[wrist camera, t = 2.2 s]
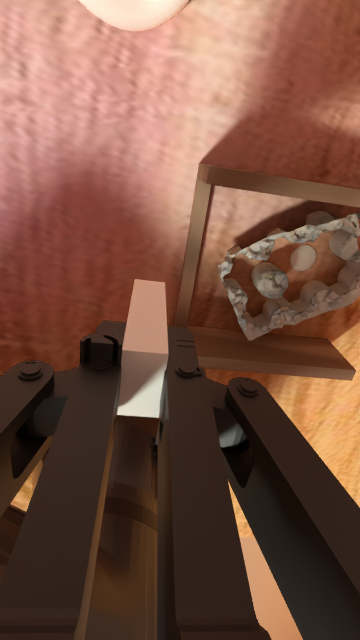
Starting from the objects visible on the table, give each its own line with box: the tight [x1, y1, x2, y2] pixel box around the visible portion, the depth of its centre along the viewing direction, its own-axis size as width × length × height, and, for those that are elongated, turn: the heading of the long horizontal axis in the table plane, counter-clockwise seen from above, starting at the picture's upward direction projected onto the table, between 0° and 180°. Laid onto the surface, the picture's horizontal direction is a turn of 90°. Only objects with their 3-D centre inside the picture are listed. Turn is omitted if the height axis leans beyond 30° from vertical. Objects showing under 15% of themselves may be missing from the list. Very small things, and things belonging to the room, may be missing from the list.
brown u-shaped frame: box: [174, 163, 360, 381], centre depth 26 cm, size 14×14×5 cm
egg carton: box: [217, 211, 360, 340], centre depth 26 cm, size 11×8×4 cm
